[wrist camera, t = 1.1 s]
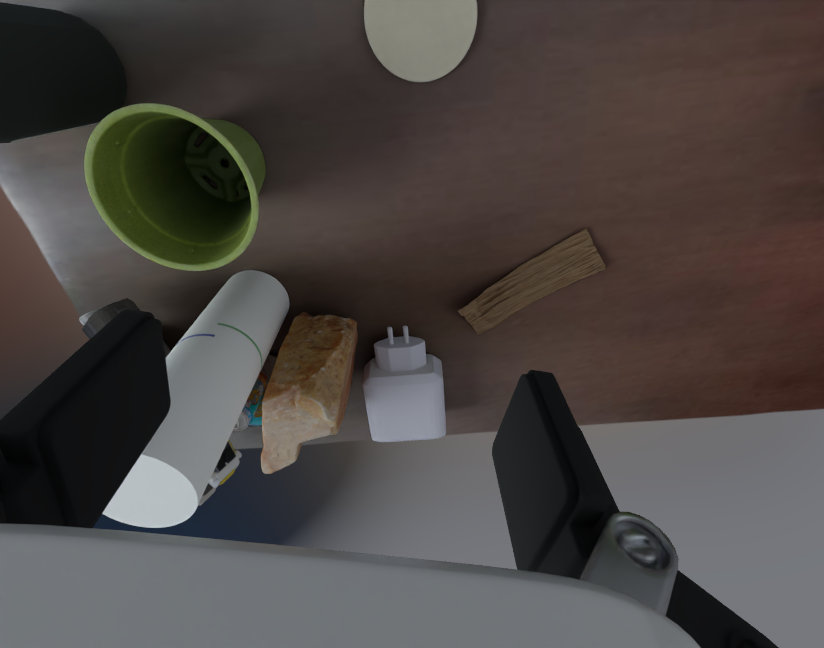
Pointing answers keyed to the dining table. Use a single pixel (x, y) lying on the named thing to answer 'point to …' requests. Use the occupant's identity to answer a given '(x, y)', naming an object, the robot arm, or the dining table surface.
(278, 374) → the stone
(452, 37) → the coaster
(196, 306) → the dining table surface
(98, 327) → the toy blaster
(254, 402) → the beverage can
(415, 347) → the charger
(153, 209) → the plant pot
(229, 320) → the cylindrical container
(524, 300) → the wood plank
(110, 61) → the wine bottle
